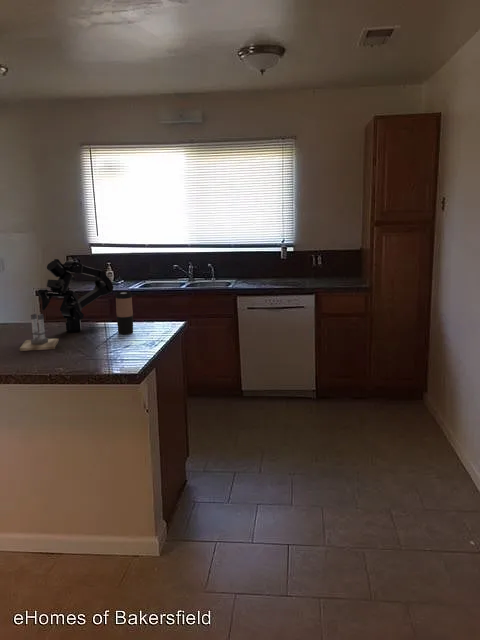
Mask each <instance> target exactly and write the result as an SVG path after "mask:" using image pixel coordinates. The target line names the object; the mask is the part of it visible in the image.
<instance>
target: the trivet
mask: <svg viewBox="0 0 480 640" xmlns="http://www.w3.org/2000/svg"><path fill="white" fill-rule="evenodd" d="M31 340H32V339H26V340H24V342H23V343H22V345H21V346H20V347H19V352H23V351H25V352H26V351H43V350H55V349H56V346H57V344H58V343H59V338H48V342H47V343H45V344H43V345H35V344H31Z"/></svg>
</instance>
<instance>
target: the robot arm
mask: <svg viewBox="0 0 480 640" xmlns="http://www.w3.org/2000/svg"><path fill="white" fill-rule="evenodd" d="M46 269H47V270H48V271H49V272H50V273H51V274H52V275H53V276H54V277H55V278H57V279H47V282H46V287H47V288H50V290H51V291H52V292H51V291H49V289H46V288H45V289H44V288H41V289H38V291H37V293H36V294H37V295H38V297H40V299H41V309H42V311H45V309H46V308H47V307H48V305H49V304H50V302H51V301H50V300H51V299H52V298H63V301H62V303H61V305H60V309H59V311H60V313H61V315H62V317H63V319H65V320H66V321H65V331H66V332H67V333H79V332H82V330H83V329H82V322H81V321H82V320H83V319H84V316H85V313H83V312H82V311H83V309H84V307H86V306H88V305H90V304H91V303H92V302H94V301H95V300H96V299H98V298H100V297H101V296H106V295H109V294H111V293H113V291H114V284H113V282H112V280H111V279H110V278H109V277H108V276H107V275H106V272H105V271H104V270H103V269H102V270H101V269H98V268H97V269H96V268H93V267H89V266H86V265H84V264H82V263H81V262H79V261H77V260H75V261H74V260H66V261H65V262H64V263H62V262H61V261H60V259H58V258H54V260H52V261H50V262H48V264H47V266H46ZM74 274H83V275H86V276H90V277H93V278H94V284H95V285H94V288H93V289H92V290H90V291H89V292H87V293H86V294H85V295H82V296H81V297H80V298H79V295H78V293H77V292H76V291H75V290H73V289H71V288H70V287H69V286H70V284H71V282H74V281H76V278H75V275H74ZM100 279H101V280H100Z"/></svg>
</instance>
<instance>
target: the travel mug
mask: <svg viewBox="0 0 480 640" xmlns="http://www.w3.org/2000/svg"><path fill="white" fill-rule="evenodd" d="M132 298H133V297H132V292H131V291H130V290H124V291H123V290H121V291H116V292H115V307H116V311H115V312H116V313H115V314H116V323H117V325H116V326H117V333H118V335H125V336H127V335H132V334H134V314H133V313H134V312H133V299H132Z"/></svg>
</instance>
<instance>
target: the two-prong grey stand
mask: <svg viewBox="0 0 480 640" xmlns="http://www.w3.org/2000/svg"><path fill="white" fill-rule="evenodd" d="M30 320H31V329H32V332H31V335H32V339H30V340H31V344H35V345H43V344H45V343H47V342H48V339H49V338H48V337H46V334H47V333H46V331H45V330H46V328H45V321H44V313H39V314H37V313H33V314H30Z"/></svg>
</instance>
